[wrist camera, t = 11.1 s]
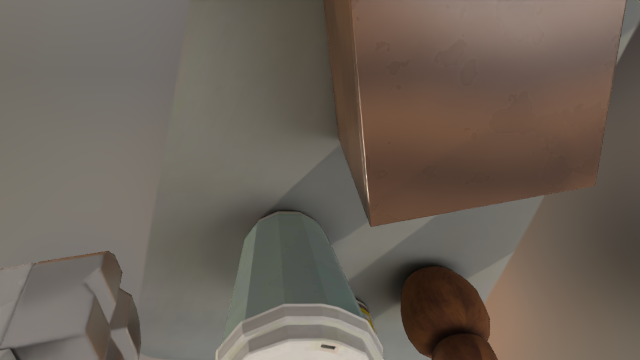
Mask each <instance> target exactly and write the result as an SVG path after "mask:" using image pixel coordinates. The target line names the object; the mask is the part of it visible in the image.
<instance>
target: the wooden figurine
mask: <svg viewBox="0 0 640 360" xmlns="http://www.w3.org/2000/svg"><path fill="white" fill-rule="evenodd" d="M401 316H402V322H403V326H404V329H405V332H406V334H407V336H408V339H409V340H410V341H411V343H412V344H413V345H414V347H415V348H416V349H417V350H418V351H419V353H421V354H423V355H425V356H427V357H429V358H432V360H498V359H497V357H496V355H495V353H494V351H493V350H492V348H491V346H490V344H489V343H488V342H487V341H488V338H489V335H490V318H489V315H488V313H487V310H486V308H485V306H484V304H483V302H482V300H481V298H480V296H479V294H478V292H477V290H476V289H475V288H474V287H473V286H472V285H471V284H470V283H469V282H468V281H467V280H466V279H464V278H463V277H462V276H460V275H458V274H457V273H455V272H453V271H452V270H450V269H447V268H443V267H427V268H421V269H419V270H417V271H415V272H413V273H412V274H411V275H410V276H409V277H408V278H407V279H406V281H405V283H404V285H403V288H402V292H401Z"/></svg>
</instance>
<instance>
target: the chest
mask: <svg viewBox="0 0 640 360" xmlns="http://www.w3.org/2000/svg"><path fill="white" fill-rule="evenodd" d="M324 9H325V18H326V27H327V36H328V45H329V54H330V63H331V72H332V81H333V90H334V99H335V108H336V117H337V126H338V135H339V140H340V143H341V146H342V149H343V152H344V155H345V157H346V160H347V163H348V166H349V169H350V171H351V174H352V177H353V180H354V183H355V185H356V188H357V191H358V194H359V197H360V199H361V202H362V205H363V208H364V211H365V213H366V216H367V206H366V195H365V183H364V172H363V161H362V150H361V138H360V127H359V116H358V105H357V93H356V82H355V71H354V60H353V48H352V37H351V26H350V15H349V4H348V0H324ZM367 218H368V217H367Z"/></svg>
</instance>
